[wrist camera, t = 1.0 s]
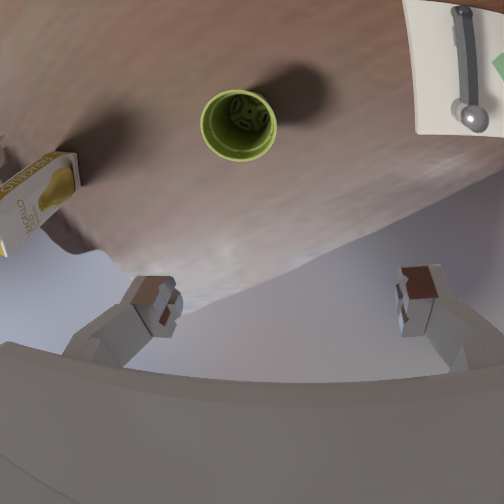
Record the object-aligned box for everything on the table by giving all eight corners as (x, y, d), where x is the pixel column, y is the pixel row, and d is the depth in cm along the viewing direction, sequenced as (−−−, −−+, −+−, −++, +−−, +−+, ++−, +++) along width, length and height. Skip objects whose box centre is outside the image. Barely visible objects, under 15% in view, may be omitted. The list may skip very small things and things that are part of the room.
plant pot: (268, 150, 47) (260, 173, 40) (210, 128, 46) (191, 146, 39) (292, 95, 41) (289, 107, 34) (230, 72, 40) (213, 79, 33)
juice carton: (85, 191, 57) (8, 269, 38) (57, 187, 57) (-19, 257, 39) (80, 148, 51) (-11, 217, 32) (50, 146, 51) (-37, 210, 33)
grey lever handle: (471, 121, 36) (488, 133, 31) (450, 121, 36) (466, 132, 32) (463, 8, 26) (482, 6, 21) (441, 5, 27) (457, 2, 22)
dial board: (402, 0, 29) (405, -2, 28) (506, 16, 24) (512, 16, 23) (415, 131, 40) (418, 134, 39) (510, 135, 36) (515, 138, 35)
